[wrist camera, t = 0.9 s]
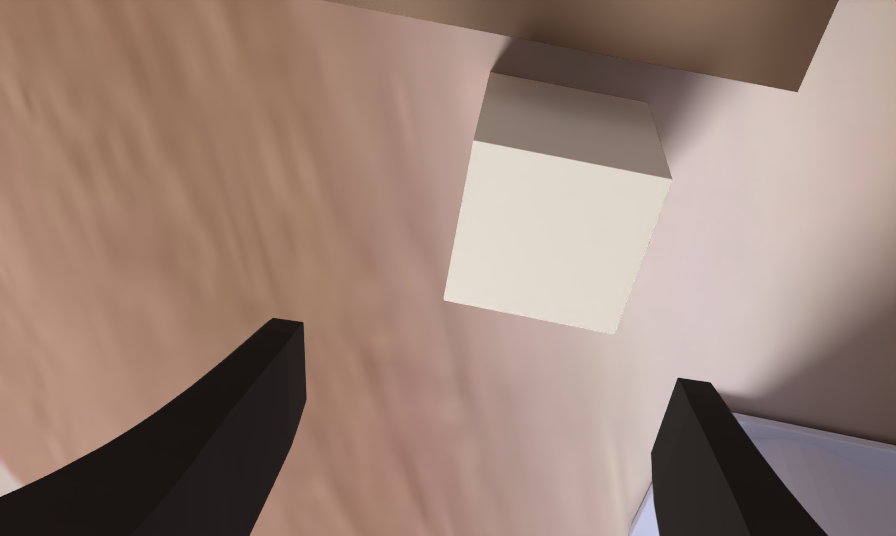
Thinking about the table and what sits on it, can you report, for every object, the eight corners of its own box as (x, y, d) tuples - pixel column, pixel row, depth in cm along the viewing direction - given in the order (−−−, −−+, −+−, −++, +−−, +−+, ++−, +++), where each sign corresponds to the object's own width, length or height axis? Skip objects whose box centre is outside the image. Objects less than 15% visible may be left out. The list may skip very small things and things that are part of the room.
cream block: (647, 101, 20) (672, 179, 16) (602, 236, 22) (614, 334, 18) (490, 71, 20) (473, 139, 16) (463, 209, 22) (443, 299, 18)
